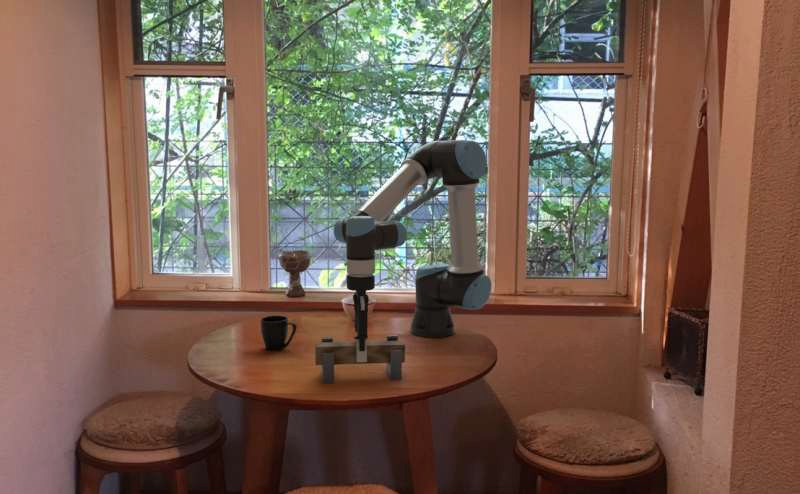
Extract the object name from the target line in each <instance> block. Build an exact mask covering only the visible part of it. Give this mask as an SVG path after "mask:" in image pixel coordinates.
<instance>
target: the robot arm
mask: <svg viewBox="0 0 800 494" xmlns="http://www.w3.org/2000/svg"><path fill="white" fill-rule="evenodd" d="M487 162H488V161H487V157H486V153H485V150H484V148H483V146H481V145H480V143H478V142H477V141H475V140H466V139H457V140H456V139H455V140H454V139H453V140H435V141H430V142H427V143H426V144H423V145H422V146H420V147H419V148H417V149H416V150H414V151H412V153H411V154H410V155H408V156H407V157H406V158H405V159H404V160H403V161H402V162H401V165H400V168H399V169H398V170H397V171H396V172H395V173H394V174H393V175H392V176H391V177H390V178H389V179H388V180H387V181H386V182H385V183H384V184H383V185H382V186H381V187H379V189H378V190H377V191H376V192H375V193H374V194H372V195H371V196H370V198H369V199H367V200H366V201H365V203H364V204H362V206H360V207H359V208H358V209H357V210H356V211H355V212H354V213H353V214H352V215H351V216H349V217H347V216H346V217H340V218H339V219H337V221H336V222H335V223H334V225H333V234H334V235H333V236H334V237H335V239H336V240H337V241H338V242H340V243H341V244H342V243H343V244H345V246H346V249H345V250H346V261H345V262H344V263H343V264H344V266H346V274H347V276H346V288H347V289H348V291H352V292H353V291H355V292H354V294H353V295H352V301H353V310H354V326H353V327H354V332H355V334H354V342H357V363H358V362H367V341H368V337H369V335H368V313H369V302H370V301H369V299H370V298H369V296H368V294H367V291H371V290H372V291H373V290H374V289H375V288H376V287H375V286H376V282H375V281H376V280H375V279H376V276H375V275H374V274H375V273H376V256H375V255H376V251H379V250H386V249H396V248H398V247H401V246H403V245H404V244H405V243H406V241H407V238H408V231H407V227H406V225H404V223H403V222H402V221H400V220H387V221H384V220H385V219H386V218H387V217H388V216H389V215H390V214H391V213H392V212H393V211H394V210H395V209H396V208H397V207H398V206H399V205H400V204H402V202H403V201H404V200H405V199H406V198H407V197H408V196H409V195H410V194H411V193H412V192H413V191H414V190H415V189H416V188H417V187H418V186H422V185H424V184H425V183H426V182H427V181H428V180H430V179H435V178H441V180H442V181H441V182H442V186H443V188H445V189H446V190H447V202H448V203H447V204H448V205H447V206H448V220H449V222H448V224H449V225H448V226H449V237H450V238H449V239H450V240H449V241H450V244H449V245H450V260H451V261H450V262H451V263H450V264H449V263H448V264H447V263H445V264H444V263H441V264H440V263H438V264H427V265H424V266H419V267H418V268H417V269H416V272H415V273H416V274H415V279H414V281H415V310H414V314H413V317H412V320H411V322H410V333H411V334H412V335H416V336H419V337H423V338H424V337H425V338H443V337H449V336H452V335H453V334H455V329H456V328H455V322H454V320H453V316H452V313H451V309H450V307H451V306H452V307H456V308H460V309H464V310H473V311H477V310H481V309H482V308H483V307H484V306H485V305H486V304H487V302H488V300H489V299H490V297H491V296H490V295H491V292H492V281H491V279H490V277H489V276H488V275H486V274H484V267H483V266H484V265H482V264H481V263H480V262H479V252H478V251H479V248H478V232H477V231H478V229H477V228H478V227H477V207H476V206H477V205H476V204H477V203H476V202H477V201H476V188H477V186H479V184H480V179H481V178H482V177H484V175H485V173H486V170H487Z"/></svg>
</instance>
